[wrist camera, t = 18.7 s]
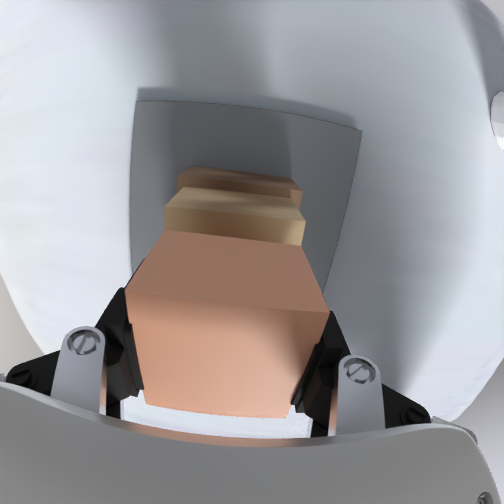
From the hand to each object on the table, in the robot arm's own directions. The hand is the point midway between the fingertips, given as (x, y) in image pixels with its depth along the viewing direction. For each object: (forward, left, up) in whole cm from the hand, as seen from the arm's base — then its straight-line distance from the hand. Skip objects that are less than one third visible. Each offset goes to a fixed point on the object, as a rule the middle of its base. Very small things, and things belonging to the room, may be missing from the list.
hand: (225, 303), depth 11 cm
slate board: (0, 0, -11) cm, 11 cm away
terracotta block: (0, 0, -1) cm, 1 cm away
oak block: (0, 0, -6) cm, 6 cm away
